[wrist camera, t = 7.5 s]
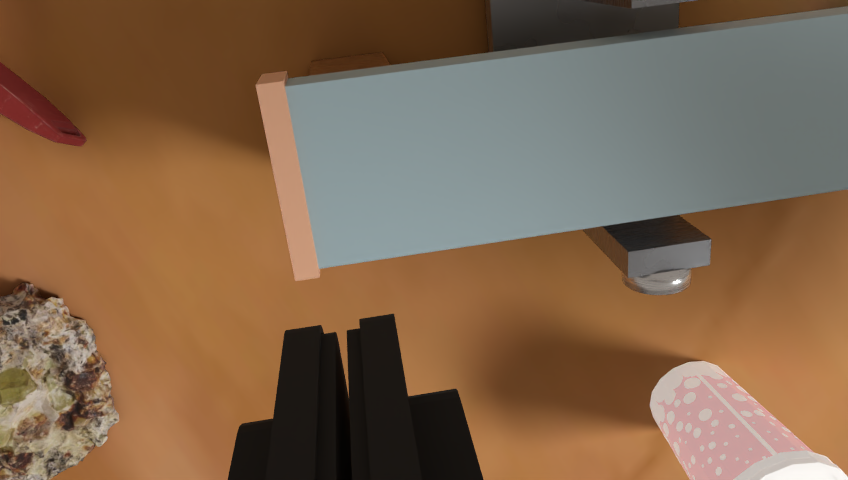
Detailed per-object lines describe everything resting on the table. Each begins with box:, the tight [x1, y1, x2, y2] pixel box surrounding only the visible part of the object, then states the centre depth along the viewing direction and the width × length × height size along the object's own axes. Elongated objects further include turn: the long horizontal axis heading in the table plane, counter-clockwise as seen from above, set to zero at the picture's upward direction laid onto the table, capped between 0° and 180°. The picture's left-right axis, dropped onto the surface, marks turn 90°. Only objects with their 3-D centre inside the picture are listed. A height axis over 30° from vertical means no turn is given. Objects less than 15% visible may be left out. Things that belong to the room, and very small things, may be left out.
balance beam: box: [256, 6, 848, 281], centre depth 23 cm, size 26×6×2 cm, turn 96°
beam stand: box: [309, 0, 711, 295], centre depth 26 cm, size 16×12×9 cm
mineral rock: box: [0, 283, 119, 480], centre depth 31 cm, size 11×4×8 cm
